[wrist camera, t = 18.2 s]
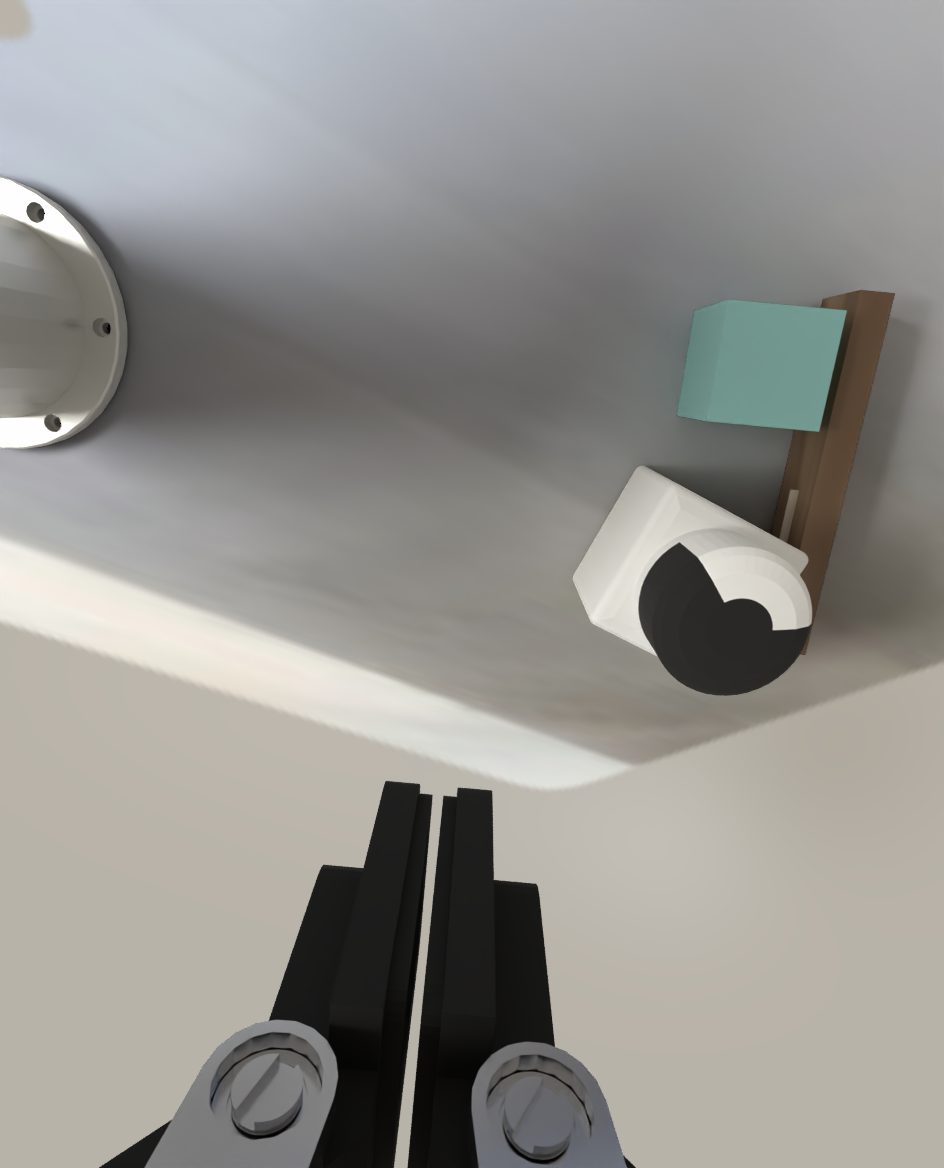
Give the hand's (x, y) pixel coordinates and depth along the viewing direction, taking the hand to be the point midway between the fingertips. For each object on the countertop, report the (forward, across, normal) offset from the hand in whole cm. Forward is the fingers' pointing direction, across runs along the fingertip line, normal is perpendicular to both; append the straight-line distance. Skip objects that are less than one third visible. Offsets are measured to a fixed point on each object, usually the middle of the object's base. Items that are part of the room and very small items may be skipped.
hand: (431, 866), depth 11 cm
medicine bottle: (+27, -10, +1) cm, 29 cm away
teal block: (+27, -12, -9) cm, 31 cm away
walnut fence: (+27, -17, -4) cm, 32 cm away
